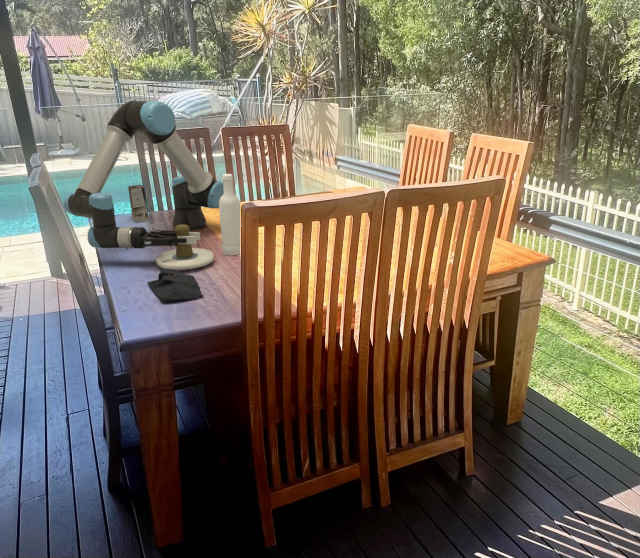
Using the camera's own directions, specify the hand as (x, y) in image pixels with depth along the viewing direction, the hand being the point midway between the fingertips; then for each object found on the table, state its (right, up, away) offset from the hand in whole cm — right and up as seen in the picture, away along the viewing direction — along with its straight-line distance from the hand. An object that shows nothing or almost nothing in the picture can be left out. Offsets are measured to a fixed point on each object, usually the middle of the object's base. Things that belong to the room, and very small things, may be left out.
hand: (198, 238), depth 186 cm
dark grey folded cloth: (-2, -19, -19) cm, 27 cm away
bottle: (+10, -5, +16) cm, 19 cm away
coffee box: (-43, +14, +65) cm, 79 cm away
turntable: (-5, -8, +3) cm, 10 cm away
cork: (-5, -6, +2) cm, 8 cm away
